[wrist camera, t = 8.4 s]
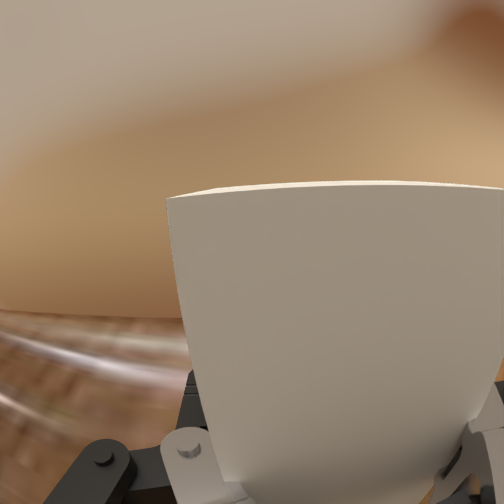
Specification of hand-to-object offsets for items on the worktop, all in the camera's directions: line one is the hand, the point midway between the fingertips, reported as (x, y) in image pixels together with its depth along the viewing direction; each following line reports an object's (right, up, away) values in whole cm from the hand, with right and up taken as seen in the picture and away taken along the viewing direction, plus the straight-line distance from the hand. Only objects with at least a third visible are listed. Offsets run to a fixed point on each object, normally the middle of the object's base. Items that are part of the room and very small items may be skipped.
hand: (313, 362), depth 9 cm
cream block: (+1, -7, -1) cm, 7 cm away
